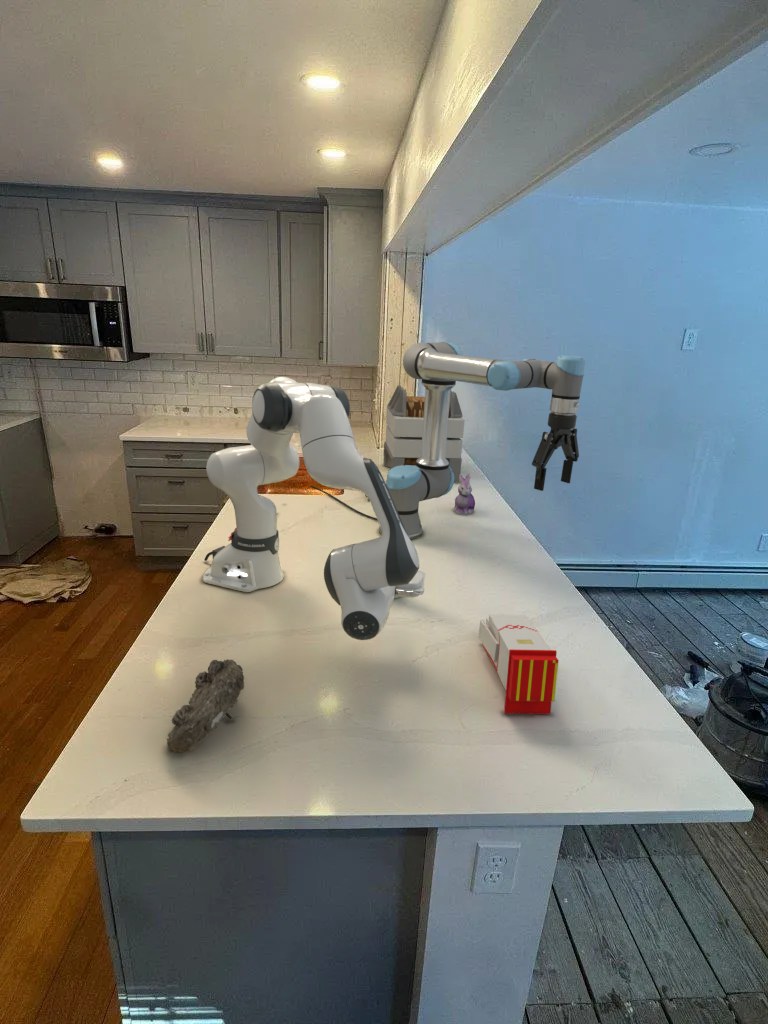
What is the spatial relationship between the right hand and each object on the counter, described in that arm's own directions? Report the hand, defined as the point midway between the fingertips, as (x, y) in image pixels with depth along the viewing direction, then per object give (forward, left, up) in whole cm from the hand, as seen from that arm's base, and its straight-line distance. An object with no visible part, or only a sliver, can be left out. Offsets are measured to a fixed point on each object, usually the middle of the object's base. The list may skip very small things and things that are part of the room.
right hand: (552, 485), depth 166 cm
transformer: (-101, +46, -28) cm, 115 cm away
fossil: (0, -107, -28) cm, 110 cm away
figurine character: (-85, +4, -28) cm, 90 cm away
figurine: (-51, +23, -28) cm, 63 cm away
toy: (+27, -49, -28) cm, 63 cm away
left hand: (-4, -61, -11) cm, 62 cm away
